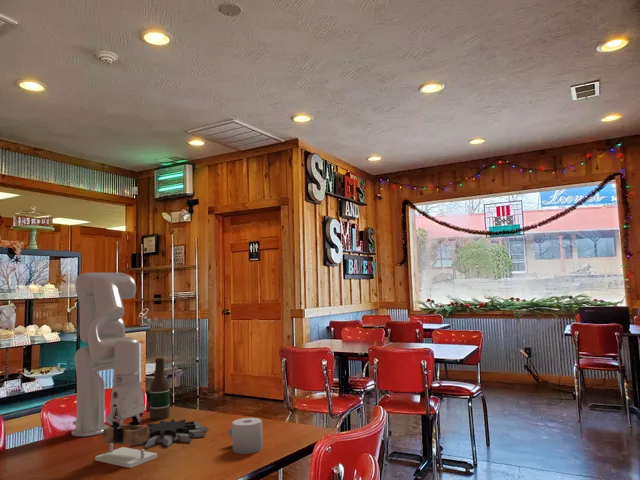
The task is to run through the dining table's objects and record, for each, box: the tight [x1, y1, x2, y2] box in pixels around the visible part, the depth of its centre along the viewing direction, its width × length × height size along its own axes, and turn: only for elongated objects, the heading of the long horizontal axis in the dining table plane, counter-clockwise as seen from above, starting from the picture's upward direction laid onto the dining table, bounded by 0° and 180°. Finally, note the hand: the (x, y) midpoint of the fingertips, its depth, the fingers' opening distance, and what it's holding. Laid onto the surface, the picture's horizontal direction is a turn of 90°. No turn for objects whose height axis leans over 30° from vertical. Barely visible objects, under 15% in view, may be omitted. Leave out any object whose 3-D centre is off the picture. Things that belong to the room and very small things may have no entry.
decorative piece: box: [130, 418, 211, 449], centre depth 176 cm, size 30×4×30 cm
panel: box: [95, 443, 158, 469], centre depth 153 cm, size 16×10×4 cm, turn 60°
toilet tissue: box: [227, 417, 264, 455], centre depth 160 cm, size 9×13×9 cm
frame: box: [103, 423, 150, 446], centre depth 153 cm, size 12×6×4 cm, turn 70°
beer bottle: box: [149, 357, 171, 421], centre depth 205 cm, size 8×8×24 cm
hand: (126, 438), depth 153 cm, fingers closed on frame, 6 cm apart
